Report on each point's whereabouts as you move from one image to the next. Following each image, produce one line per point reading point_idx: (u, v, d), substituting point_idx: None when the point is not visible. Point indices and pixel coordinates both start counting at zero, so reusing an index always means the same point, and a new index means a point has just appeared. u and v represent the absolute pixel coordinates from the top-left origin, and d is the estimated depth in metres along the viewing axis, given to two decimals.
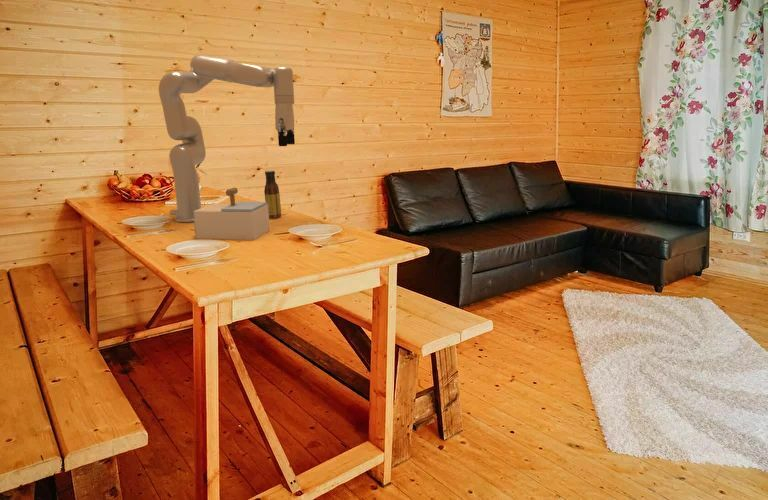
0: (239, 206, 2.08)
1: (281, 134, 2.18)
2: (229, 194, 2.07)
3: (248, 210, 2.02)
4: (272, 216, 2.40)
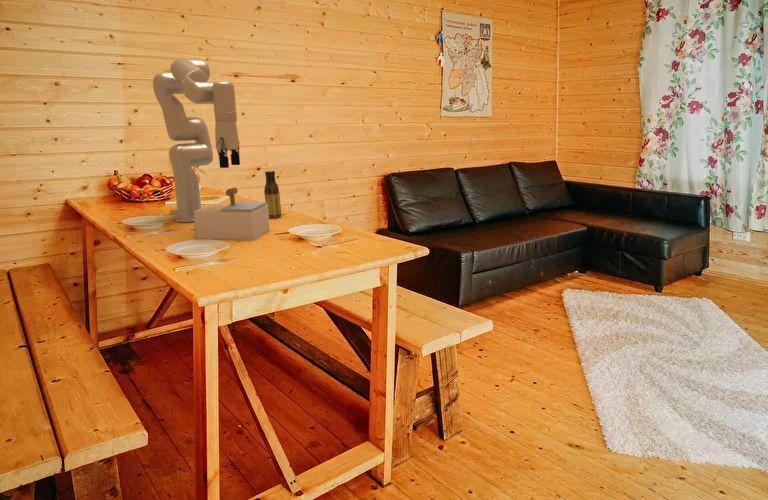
0: (239, 206, 2.08)
1: (222, 155, 1.99)
2: (229, 194, 2.07)
3: (248, 210, 2.02)
4: (272, 216, 2.40)
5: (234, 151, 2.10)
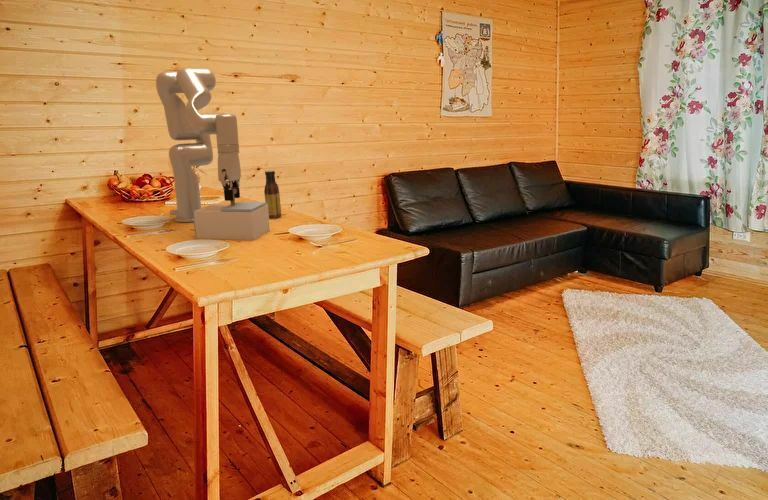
0: (239, 206, 2.08)
1: (227, 189, 2.05)
2: None
3: (248, 210, 2.02)
4: (272, 216, 2.40)
5: (234, 184, 2.12)
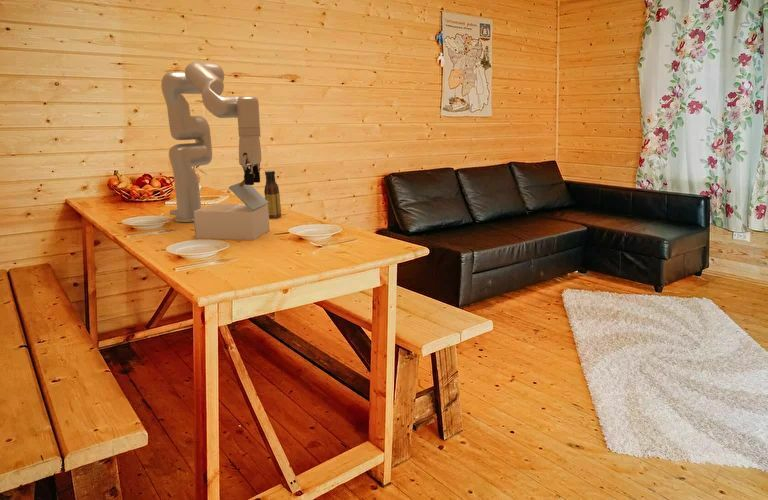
0: (245, 193, 2.06)
1: (247, 173, 2.02)
2: None
3: (250, 207, 2.02)
4: (272, 216, 2.40)
5: (254, 168, 2.09)
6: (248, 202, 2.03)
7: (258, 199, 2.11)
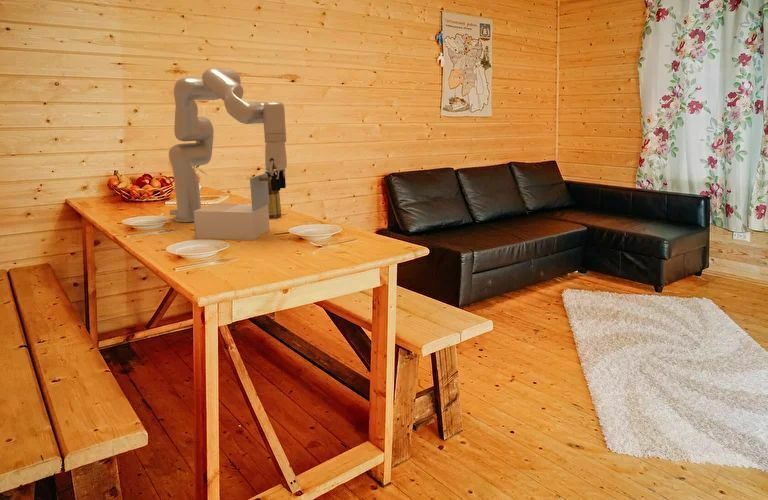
0: (258, 190, 2.05)
1: (274, 179, 2.01)
2: (269, 180, 2.03)
3: (253, 207, 2.01)
4: (272, 216, 2.40)
5: (280, 174, 2.08)
6: (255, 201, 2.02)
7: (264, 198, 2.11)
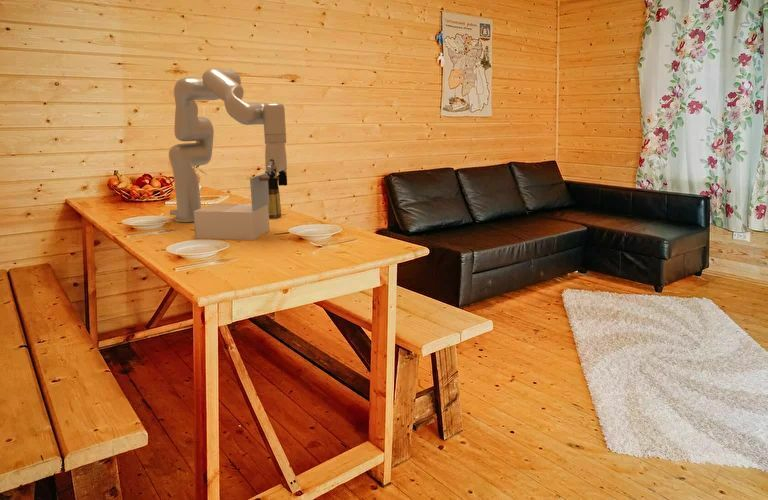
0: (258, 190, 2.05)
1: (272, 177, 1.99)
2: None
3: (253, 207, 2.01)
4: (272, 216, 2.40)
5: (282, 171, 2.09)
6: (255, 201, 2.02)
7: (264, 198, 2.11)
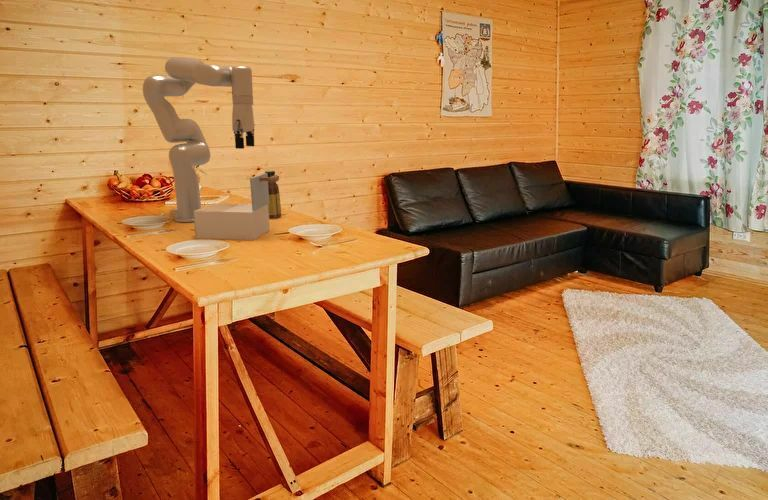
0: (258, 190, 2.05)
1: (238, 136, 2.10)
2: (269, 180, 2.03)
3: (253, 207, 2.01)
4: (272, 216, 2.40)
5: (249, 133, 2.21)
6: (255, 201, 2.02)
7: (264, 198, 2.11)
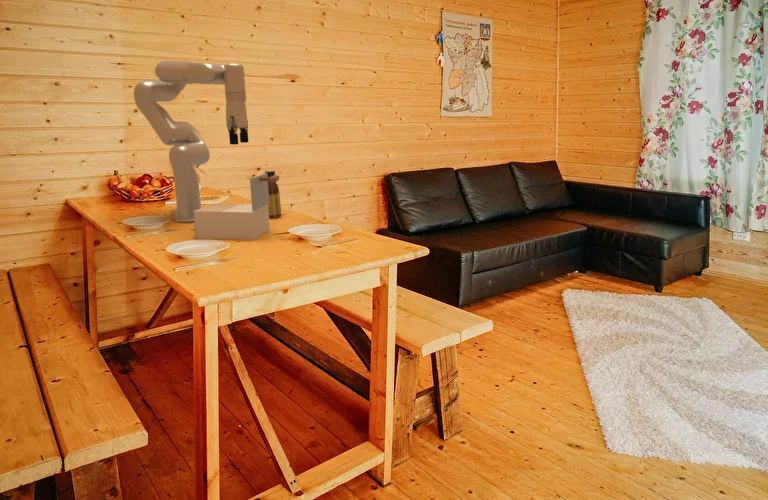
0: (258, 190, 2.05)
1: (232, 132, 2.14)
2: (269, 180, 2.03)
3: (253, 207, 2.01)
4: (272, 216, 2.40)
5: (243, 129, 2.24)
6: (255, 201, 2.02)
7: (264, 198, 2.11)
